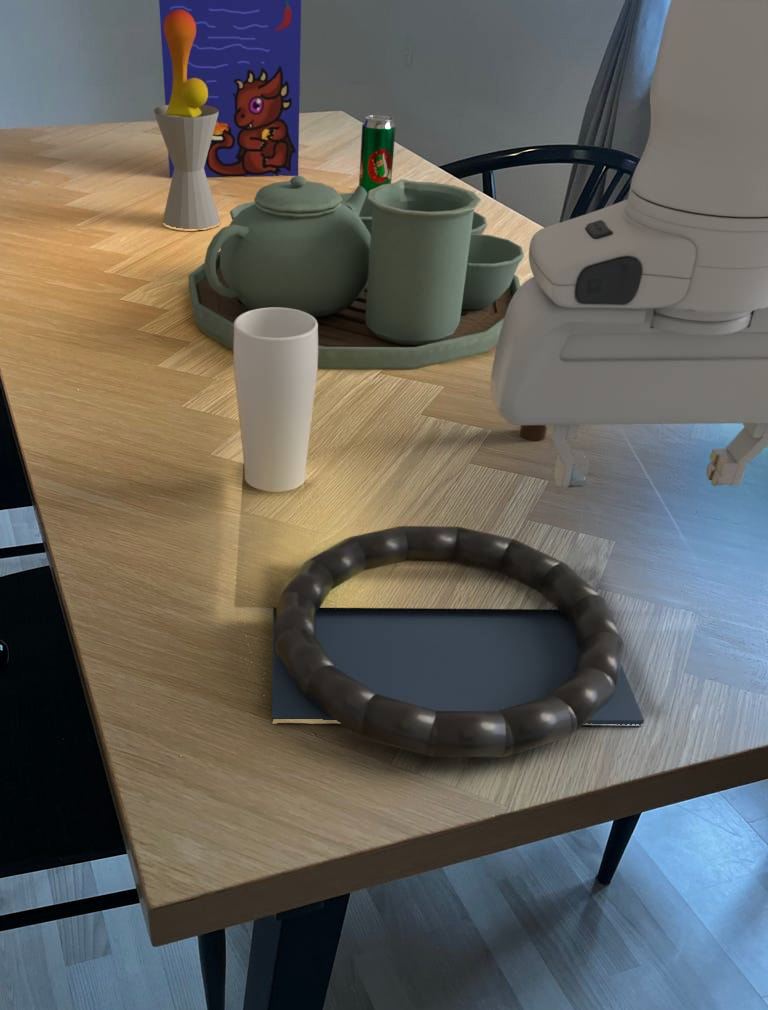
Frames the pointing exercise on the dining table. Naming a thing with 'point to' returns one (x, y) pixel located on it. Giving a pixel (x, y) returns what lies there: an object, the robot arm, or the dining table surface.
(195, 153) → the lava lamp
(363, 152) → the soda can
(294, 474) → the drinking glass
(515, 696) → the felt mat
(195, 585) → the dining table surface
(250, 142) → the cereal box
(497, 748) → the dark segmented ring
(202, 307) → the tea set
